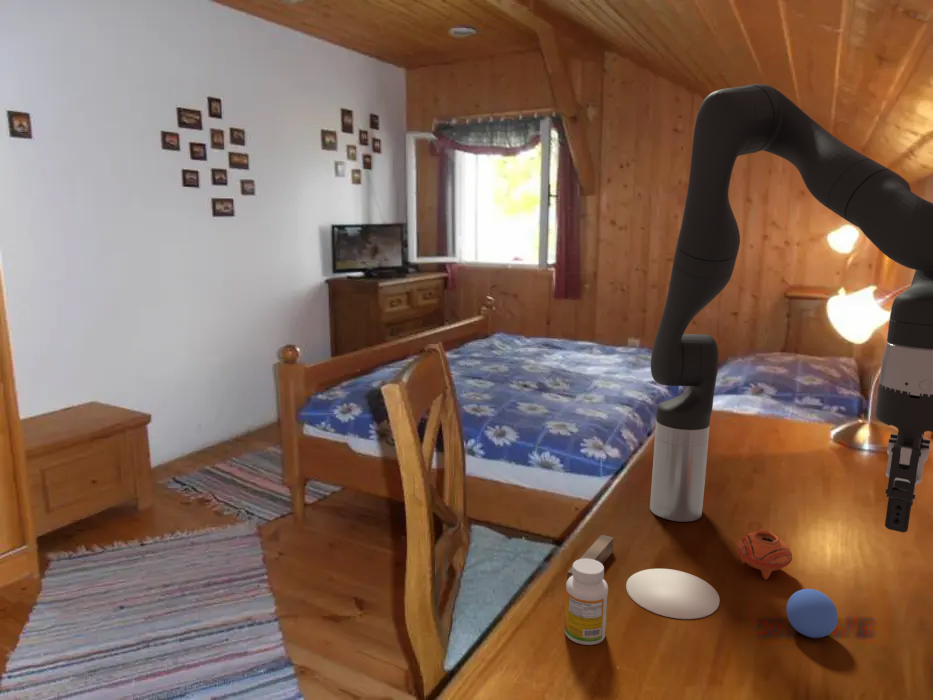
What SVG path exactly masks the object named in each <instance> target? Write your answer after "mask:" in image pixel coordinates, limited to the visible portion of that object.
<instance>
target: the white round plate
mask: <svg viewBox="0 0 933 700" xmlns="http://www.w3.org/2000/svg"><path fill="white" fill-rule="evenodd" d="M625 587H626V588H625V589H626V592H627V593H626V594H627V595H628V596H629V598H630V599H631V600H632V601H633V602H634V603H636V604H637V606H639V607H641V608H643V609H645V610H647V611H648V612H651V613H654V614H656V615H659V616H662V617H666V618H669V619H670V618H672V619H676V620H677V619H678V620H694V619H696V620H697V619H701V618H705V617H708V616H710V615H712V614H714V613H715V612H716V610H717V609H718V608H719V606H720V602H721V601H720V600H721V599H720V595H719V593H718V591H716V589H715V588H714V587H713V586H712V585H711V584H710V583H708V582H707V581H705V580H704V579H702V578H700V577H698V576H696V575H693V574H690V573H688V572H684V571H681V570H677V569H671V568H648V569H643V570H640V571H637V572H635V573H633V574H632V575H631V576H629V578H628V579H627V580H626V584H625Z"/></svg>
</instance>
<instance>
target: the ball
mask: <svg viewBox="0 0 933 700" xmlns="http://www.w3.org/2000/svg"><path fill="white" fill-rule="evenodd" d="M836 607H837V606H836V605H835V603H834V602H833V600H832V599H831V598H830V597H829V596H828V595H827V594H825V593H824V592H822V591H820V590H817V589H813V588H803V589H799V590H797V591H795V592H794V593H793V594H791V596H789V599H788V600H787V603H786V616H787V619H788V621H789V623H790V625H791V626H792V627H793V629H795V630H796V632H798V633H800V634H802V635H803V636H805V637H808V638H811V639H819V638H825V637H826V636H828V635H831V634H832V632H833V631H834V630H835V629H836V627H837V624H838V619H839V618H838V617H839V615H838V610H837V608H836Z"/></svg>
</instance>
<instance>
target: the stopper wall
mask: <svg viewBox="0 0 933 700" xmlns="http://www.w3.org/2000/svg"><path fill="white" fill-rule="evenodd" d="M614 539H615V538H614V537H612V536H608V535H604V534H601V535H600V536H599V537H598V538H597V539H596V540H595V541H594V542H593V544H591V546H589V548H588V549H587V550H586V551H585V552H584V553H583V554H582V555H581V557H580V558H579V559H593V560H596V561H599V562H600V563H601V564H602V565H603V564H604V563H605V562H606V561H607V560H608V558H609V557H610V556H611V554H613V552H614ZM572 568H573V565H572V566H571V567H570V568H569V570H567V573H566V575H567V576H566V581H567V580H568V579H569V578H570V577H571V576H572Z"/></svg>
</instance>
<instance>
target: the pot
mask: <svg viewBox="0 0 933 700" xmlns="http://www.w3.org/2000/svg"><path fill="white" fill-rule="evenodd" d="M736 551H737V554H738V555H739V556H740V560H741V562H742V563H741V564H743V563H744V564H743V565H746V563H747V564H748V565H749V566H751V567H752V568H754V569H757V570H759V571H760V575H761V577H762V579H763V578H764V580H768V578H770V575H771V574H772V572H774V571H779V570H782V569H783V568H785V567H787V566H789V564H791V563H792V562H793V561H792V560H793V553H792V551H791V548H789V546H788V545H787V543H785V542H784V541H783V540H781V539H780V537H779V536H778V535H776V534H775V533H772V532H771V531H769V530H765V529H758V530H757V529H756V530H755V531H754V532H750V533H747V534H745V535H743V536H742V537H741V538H739V540H738V541H737V542H736Z"/></svg>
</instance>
